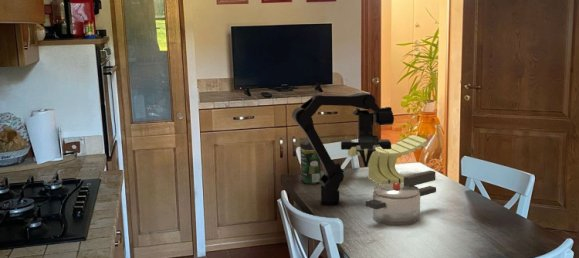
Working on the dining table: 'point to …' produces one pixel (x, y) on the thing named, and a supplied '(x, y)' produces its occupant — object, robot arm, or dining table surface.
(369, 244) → the dining table surface
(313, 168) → the coffee jar
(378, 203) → the pressure cooker pot
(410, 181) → the pressure cooker lid
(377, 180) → the slatted curved stool
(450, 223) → the dining table surface
